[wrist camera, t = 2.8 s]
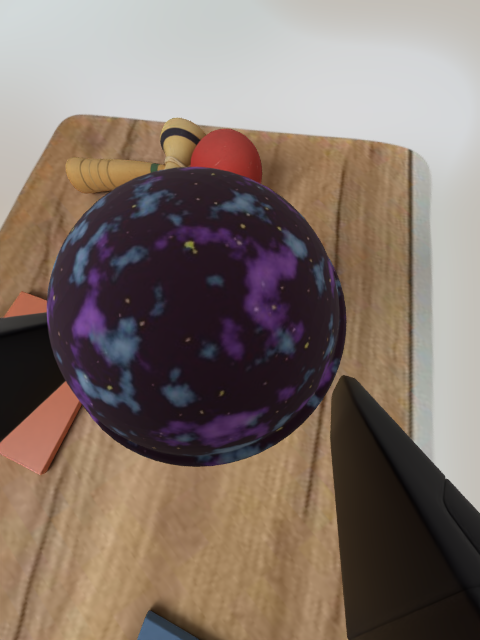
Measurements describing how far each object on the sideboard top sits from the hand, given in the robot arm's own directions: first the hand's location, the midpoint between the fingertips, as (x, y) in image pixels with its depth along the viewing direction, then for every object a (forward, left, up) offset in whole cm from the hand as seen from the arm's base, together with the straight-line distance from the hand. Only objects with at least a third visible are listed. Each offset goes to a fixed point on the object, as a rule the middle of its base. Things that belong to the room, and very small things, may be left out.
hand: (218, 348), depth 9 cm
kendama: (+13, +12, -9) cm, 20 cm away
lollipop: (0, 0, -9) cm, 9 cm away
